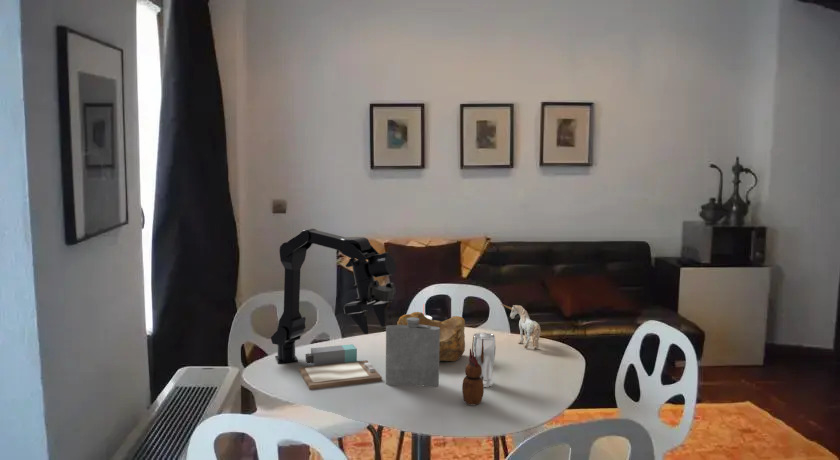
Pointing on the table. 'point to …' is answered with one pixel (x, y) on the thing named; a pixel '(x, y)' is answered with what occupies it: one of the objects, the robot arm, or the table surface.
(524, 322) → the unicorn figurine
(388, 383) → the hip flask
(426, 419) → the table surface
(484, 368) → the beer glass
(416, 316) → the rough brown rock
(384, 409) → the table surface
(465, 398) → the wooden figurine
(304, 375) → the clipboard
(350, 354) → the marker
